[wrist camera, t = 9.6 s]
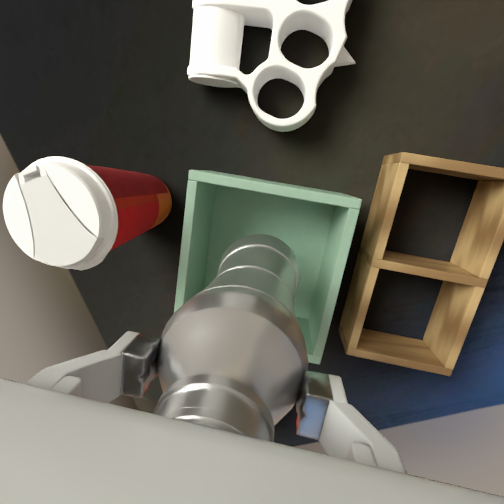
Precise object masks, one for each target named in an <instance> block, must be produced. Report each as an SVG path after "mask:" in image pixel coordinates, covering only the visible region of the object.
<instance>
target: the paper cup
mask: <svg viewBox="0 0 504 504" xmlns="http://www.w3.org/2000/svg"><path fill="white" fill-rule="evenodd" d="M171 207H172V198H171V194H170V191H169V189H168V187H167V186H166V185H165V183H164V182H163V181H161V180H160V179H159V178H157V177H155V176H152V175H149V174H144V173H139V172H132V171H125V170H119V169H113V168H106V167H98V166H90V165H84V164H83V163H81V162H79V161H76V160H74V159H71V158H67V157H58V156H53V157H46V158H42V159H39V160H37V161H35V162H33V163H32V164H30V165H29V166H28V167H27V168H25V169H24V170H23V171H22V172H21V173H17V174H15V175H14V177H13V178H12V179H11V180H10V182H9V183H8V185H7V188H6V190H5V193H4V199H3V213H4V218H5V222H6V226H7V228H8V230H9V233H10V234H11V236H12V238H13V240H14V241H15V242H16V243H17V245H18V246H19V247H20V248H21V249H22V250H23V251H24V252H25V253H26V254H27V255H29V256H30V257H31V258H33V259H35V260H37V261H40V262H42V263H45V264H48V265H52V266H57V267H61V268H65V269H76V270H85V269H89V268H91V267H94V266H96V265H98V264H99V263H101V262H102V261H103V260H104V258H105V257H106V255H107V254H108V252H109V251H111V250H112V249H114V248H116V247H118V246H120V245H122V244H124V243H126V242H127V241H129V240H131V239H133V238H135V237H137V236H139V235H141V234H142V233H144V232H146V231H148V230H150V229H152V228H153V227H155V226H157V225H158V224H160V223H161V222H163V221H164V220H165V219H166V218H167V216H168V215H169V213H170V211H171Z"/></svg>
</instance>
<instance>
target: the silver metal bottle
mask: <svg viewBox="0 0 504 504" xmlns="http://www.w3.org/2000/svg"><path fill="white" fill-rule="evenodd" d="M300 279H301V269H300V264H299V261H298V258H297V257H296V255H295V253H294V252H293V250H292V249H291V248H290V247H289V246H288V245H287V244H286V243H285V242H283V241H282V240H280V239H278V238H276V237H274V236H271V235H267V234H254V235H249V236H246V237H243V238H240V239H239V240H237V241H235V242H234V243H232V244H231V245H230V246H229V247H228V248H227V250H226V251H225V252H224V254H223V256H222V258H221V261H220V264H219V269H218V274H217V276H216V278H215V279H214V280H213V281H212V282H211V283H210V285H209V286H207V287H206V288H205V289H203V290H202V291H200V292H199V293H198V294H196V295H195V296H194V297H192V298H191V299H189V300H188V301H187V302H186V303H185V304H183V305H182V306H181V307H180V308H179V309H178V310H177V311H176V312H175V313H174V314H173V316H172V317H171V318H170V320H169V321H168V322H167V324H166V326H165V328H164V331H163V333H162V336H161V339H162V340H161V343H160V346H159V351H158V355H157V372H158V375H159V379H160V383H161V387H162V390H163V394H162V396H161V397H160V399H159V401H158V403H157V405H156V407H155V409H154V411H153V414H156V415H160V416H164V417H168V418H173V419H177V420H181V421H185V422H189V423H193V424H197V425H202V426H206V427H210V428H214V429H219V430H223V431H228V432H232V433H236V434H240V435H245V436H249V437H253V438H257V439H261V440H266V441H270V442H274V425H276V424H277V423H278V422H279V421H280V420H281V419H282V418H283V417H284V416H285V415H286V414H287V413H288V412H289V411H290V410H291V409H292V408H293V406H294V405H295V403H296V401H297V400H298V396H299V394H300V392H301V384H302V379H303V373H304V370H308V356H307V349H306V345H305V339H304V336H303V334H302V331H301V328H300V326H299V323H298V320H297V317H296V315H295V310H294V303H293V301H294V296H295V294H296V293H297V290H298V286H299V283H300Z"/></svg>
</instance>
